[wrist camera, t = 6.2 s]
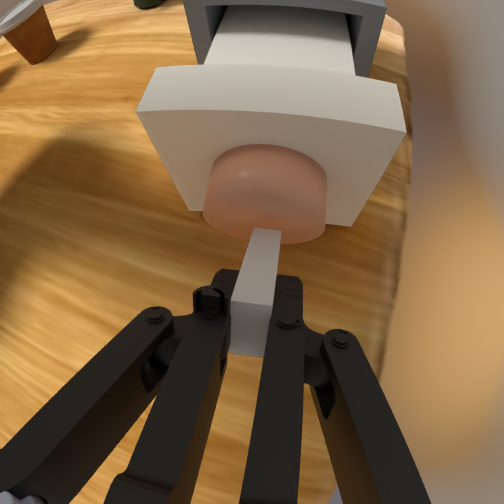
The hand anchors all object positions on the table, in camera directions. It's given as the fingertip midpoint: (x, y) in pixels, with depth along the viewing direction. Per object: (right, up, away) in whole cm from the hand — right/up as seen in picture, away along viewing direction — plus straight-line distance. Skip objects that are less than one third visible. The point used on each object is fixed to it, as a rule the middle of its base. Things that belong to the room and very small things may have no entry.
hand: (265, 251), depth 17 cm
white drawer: (+2, +10, +9) cm, 14 cm away
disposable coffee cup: (-39, +36, +21) cm, 57 cm away
